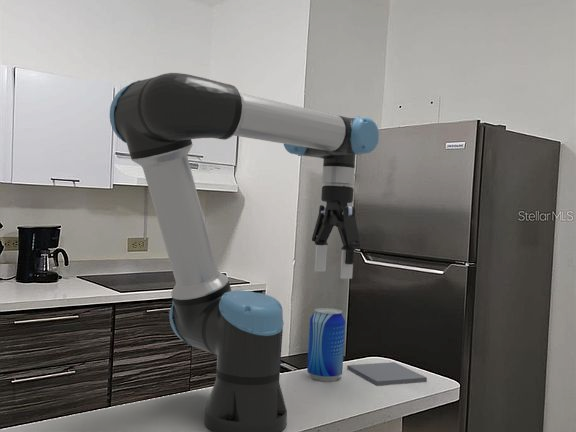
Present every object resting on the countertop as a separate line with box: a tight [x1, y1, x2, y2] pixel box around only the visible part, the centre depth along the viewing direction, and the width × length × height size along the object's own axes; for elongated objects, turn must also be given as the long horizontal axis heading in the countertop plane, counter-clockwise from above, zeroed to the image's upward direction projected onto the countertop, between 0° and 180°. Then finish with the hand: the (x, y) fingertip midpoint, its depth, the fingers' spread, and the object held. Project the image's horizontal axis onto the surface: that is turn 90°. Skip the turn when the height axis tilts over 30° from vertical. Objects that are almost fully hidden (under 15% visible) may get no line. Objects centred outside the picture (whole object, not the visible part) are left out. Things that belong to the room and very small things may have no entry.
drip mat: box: [346, 361, 428, 387], centre depth 145 cm, size 14×14×1 cm
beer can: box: [306, 307, 346, 382], centre depth 140 cm, size 8×8×16 cm
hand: (332, 274), depth 140 cm, fingers open, 13 cm apart
